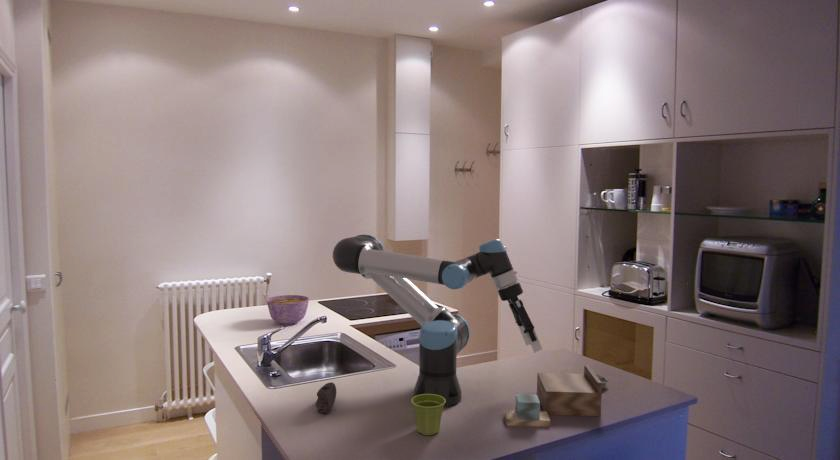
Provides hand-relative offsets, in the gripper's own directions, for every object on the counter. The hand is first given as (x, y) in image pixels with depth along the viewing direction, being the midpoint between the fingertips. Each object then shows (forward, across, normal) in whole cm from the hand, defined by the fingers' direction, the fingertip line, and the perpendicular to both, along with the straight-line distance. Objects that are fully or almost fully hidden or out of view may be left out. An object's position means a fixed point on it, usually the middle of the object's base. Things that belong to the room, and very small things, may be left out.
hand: (534, 347), depth 174 cm
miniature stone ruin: (+22, +10, -13) cm, 27 cm away
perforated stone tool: (-9, -10, +66) cm, 67 cm away
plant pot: (+4, -25, +38) cm, 46 cm away
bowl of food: (-37, +87, +95) cm, 134 cm away
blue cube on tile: (+15, -18, +12) cm, 26 cm away
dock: (+19, -5, -2) cm, 19 cm away
